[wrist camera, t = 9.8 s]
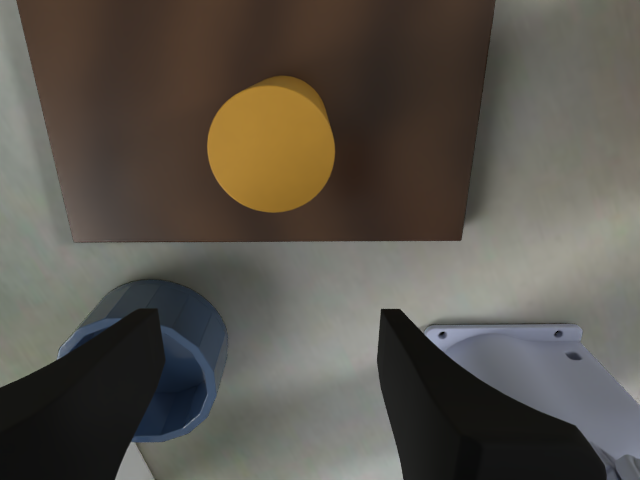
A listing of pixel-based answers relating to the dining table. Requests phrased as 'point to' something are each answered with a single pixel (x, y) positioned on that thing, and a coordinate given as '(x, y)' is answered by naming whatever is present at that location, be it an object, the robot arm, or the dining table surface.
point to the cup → (168, 352)
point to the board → (239, 74)
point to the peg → (272, 145)
